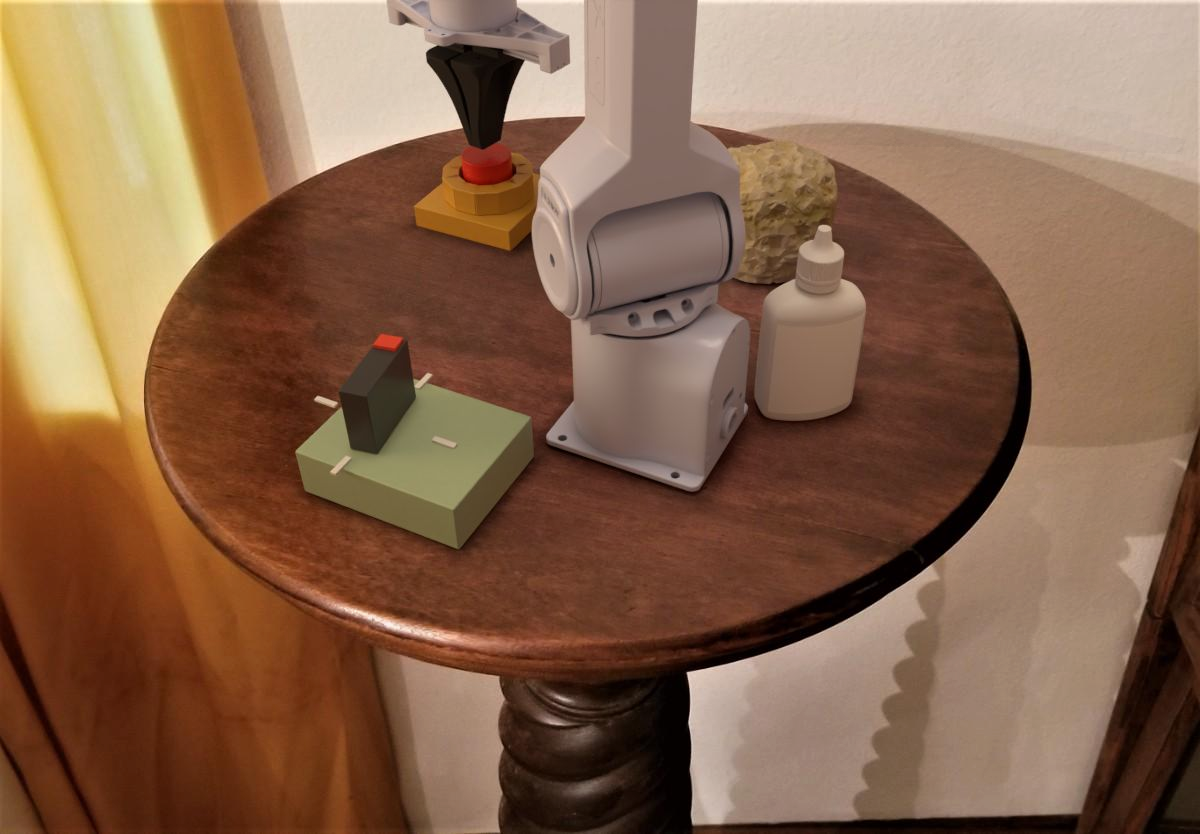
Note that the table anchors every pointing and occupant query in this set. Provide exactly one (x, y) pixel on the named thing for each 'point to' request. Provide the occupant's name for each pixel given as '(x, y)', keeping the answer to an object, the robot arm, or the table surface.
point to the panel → (423, 464)
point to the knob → (378, 393)
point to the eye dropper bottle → (810, 337)
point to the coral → (781, 206)
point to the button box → (482, 206)
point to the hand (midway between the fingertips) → (485, 142)
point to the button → (487, 165)
